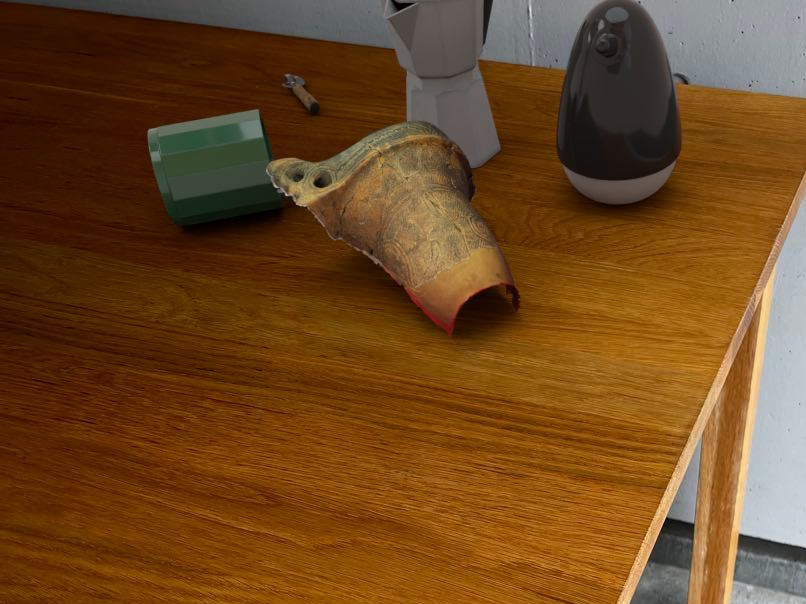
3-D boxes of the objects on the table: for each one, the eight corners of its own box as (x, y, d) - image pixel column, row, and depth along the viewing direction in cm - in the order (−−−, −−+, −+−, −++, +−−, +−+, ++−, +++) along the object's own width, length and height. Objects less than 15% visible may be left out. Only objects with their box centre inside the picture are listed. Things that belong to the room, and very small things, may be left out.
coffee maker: (453, 192, 90) (421, -33, 77) (373, 171, 93) (329, -48, 80) (544, 116, 98) (529, -99, 85) (467, 99, 102) (441, -111, 88)
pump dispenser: (544, 216, 86) (530, 26, 75) (575, 154, 93) (567, -30, 82) (667, 227, 84) (671, 33, 73) (690, 162, 91) (697, -26, 79)
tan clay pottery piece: (396, 272, 66) (274, 88, 72) (352, 391, 75) (246, 217, 81) (597, 248, 77) (476, 88, 83) (539, 355, 85) (433, 202, 91)
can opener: (322, 112, 101) (319, 101, 101) (298, 118, 101) (295, 106, 100) (300, 76, 107) (297, 65, 106) (278, 82, 107) (275, 70, 106)
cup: (146, 157, 82) (262, 136, 83) (147, 111, 87) (256, 92, 88) (179, 244, 87) (286, 224, 88) (178, 197, 93) (279, 178, 94)
